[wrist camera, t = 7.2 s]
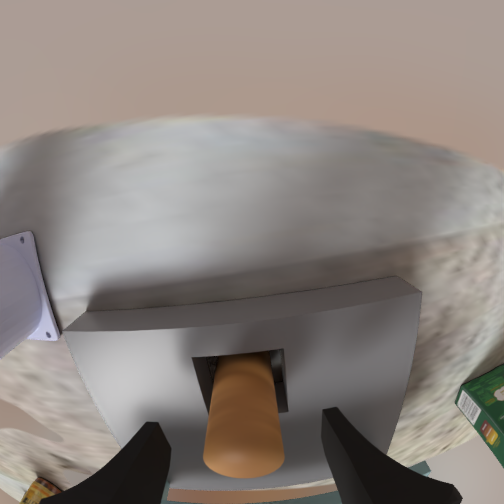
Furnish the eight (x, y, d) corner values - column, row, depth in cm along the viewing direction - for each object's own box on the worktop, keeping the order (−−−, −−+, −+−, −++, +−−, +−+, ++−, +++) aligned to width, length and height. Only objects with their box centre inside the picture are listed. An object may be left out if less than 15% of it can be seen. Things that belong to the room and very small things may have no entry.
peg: (222, 379, 17) (212, 479, 9) (213, 338, 16) (194, 438, 8) (271, 374, 17) (286, 474, 9) (267, 332, 16) (282, 433, 8)
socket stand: (154, 461, 19) (135, 531, 11) (85, 311, 16) (6, 381, 7) (372, 440, 19) (403, 509, 11) (396, 275, 16) (489, 336, 7)
